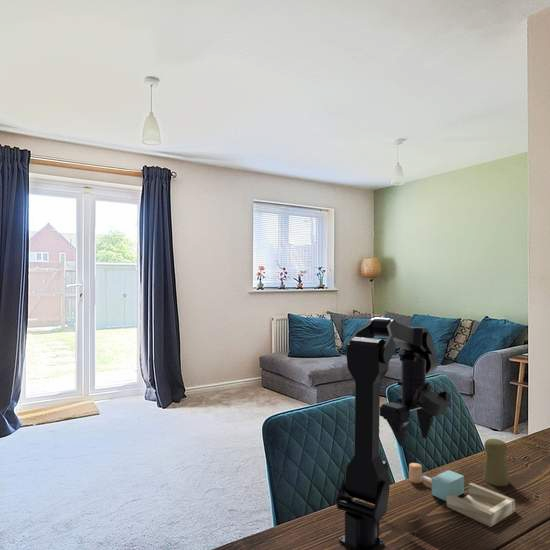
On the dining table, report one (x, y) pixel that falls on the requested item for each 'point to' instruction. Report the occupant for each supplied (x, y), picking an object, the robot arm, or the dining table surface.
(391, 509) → the dining table surface
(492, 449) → the cork
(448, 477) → the lever with tan knob
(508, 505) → the lane
